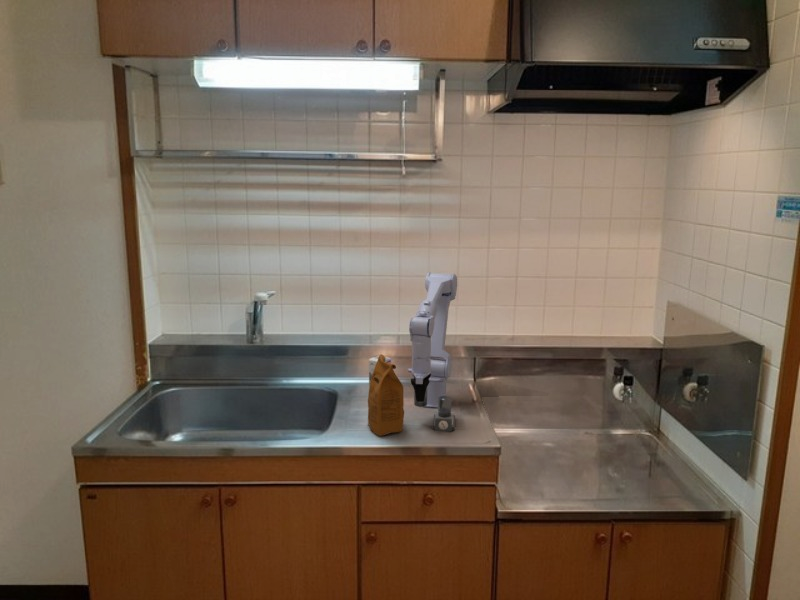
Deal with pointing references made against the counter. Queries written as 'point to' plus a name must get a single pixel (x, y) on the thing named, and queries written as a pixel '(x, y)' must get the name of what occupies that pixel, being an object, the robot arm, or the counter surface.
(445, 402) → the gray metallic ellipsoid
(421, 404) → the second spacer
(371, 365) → the syrup box
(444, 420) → the dial scale
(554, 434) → the counter surface
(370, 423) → the coffee package
